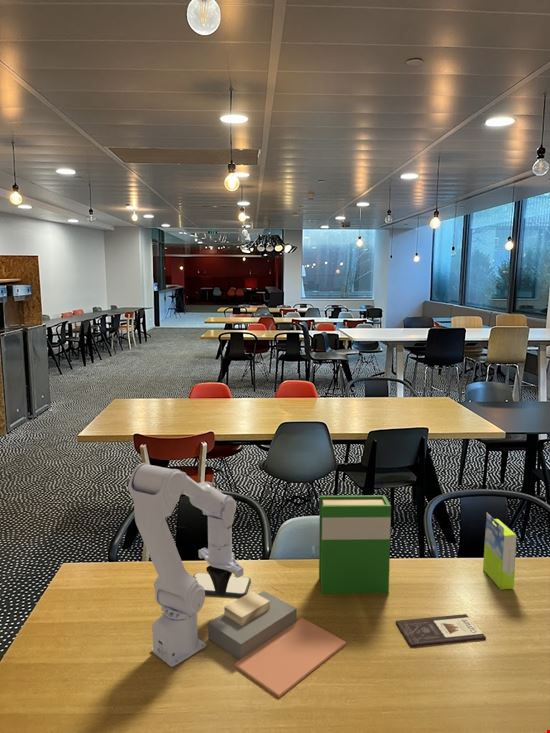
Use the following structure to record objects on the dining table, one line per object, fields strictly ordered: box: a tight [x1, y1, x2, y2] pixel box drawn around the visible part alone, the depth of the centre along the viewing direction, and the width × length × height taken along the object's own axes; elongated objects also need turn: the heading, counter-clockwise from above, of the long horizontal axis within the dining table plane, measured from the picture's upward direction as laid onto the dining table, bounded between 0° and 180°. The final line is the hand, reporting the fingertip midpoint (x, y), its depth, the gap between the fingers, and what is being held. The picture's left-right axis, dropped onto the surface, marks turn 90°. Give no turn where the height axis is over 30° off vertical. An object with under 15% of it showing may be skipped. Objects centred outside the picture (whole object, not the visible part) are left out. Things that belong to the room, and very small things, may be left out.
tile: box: [223, 591, 270, 626], centre depth 125 cm, size 9×6×2 cm, turn 136°
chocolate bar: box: [395, 613, 487, 648], centre depth 125 cm, size 9×1×18 cm
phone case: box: [192, 572, 252, 598], centre depth 144 cm, size 9×2×16 cm
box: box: [482, 512, 517, 590], centre depth 146 cm, size 10×4×17 cm, turn 4°
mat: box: [233, 617, 347, 698], centre depth 116 cm, size 22×13×1 cm, turn 136°
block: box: [207, 590, 298, 661], centre depth 124 cm, size 18×11×4 cm, turn 136°
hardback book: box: [318, 494, 392, 595], centre depth 142 cm, size 18×7×24 cm, turn 91°
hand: (220, 593), depth 132 cm, fingers closed
